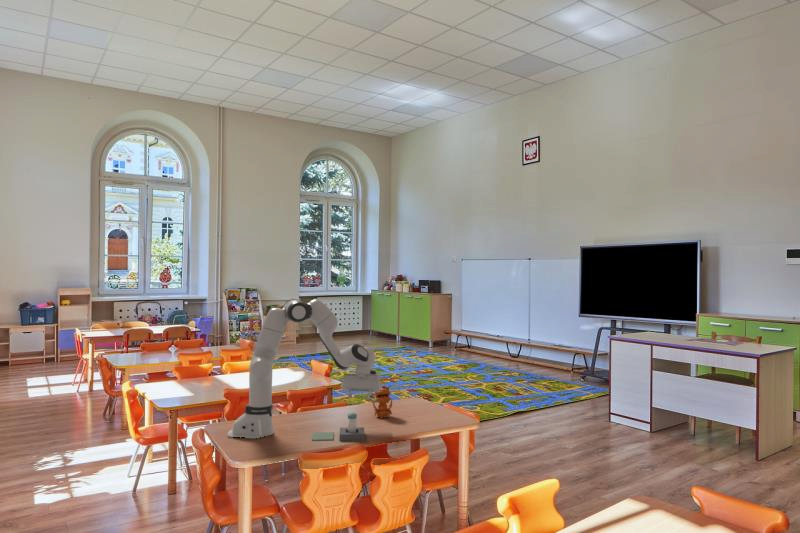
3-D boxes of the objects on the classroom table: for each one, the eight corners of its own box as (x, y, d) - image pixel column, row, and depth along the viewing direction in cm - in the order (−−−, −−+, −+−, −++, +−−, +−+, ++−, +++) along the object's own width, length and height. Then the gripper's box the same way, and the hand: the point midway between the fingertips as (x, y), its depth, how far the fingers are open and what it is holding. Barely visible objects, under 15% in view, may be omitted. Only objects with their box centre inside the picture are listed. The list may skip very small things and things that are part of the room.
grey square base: (339, 442, 260) (339, 434, 260) (339, 435, 272) (339, 427, 272) (364, 442, 261) (364, 434, 261) (363, 435, 273) (363, 427, 273)
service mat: (311, 442, 260) (312, 439, 260) (313, 435, 272) (313, 432, 272) (333, 442, 261) (333, 439, 261) (333, 435, 273) (333, 432, 273)
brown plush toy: (375, 419, 304) (375, 387, 304) (371, 415, 314) (371, 383, 314) (394, 418, 307) (395, 386, 307) (389, 414, 317) (390, 383, 317)
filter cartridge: (347, 438, 264) (347, 415, 265) (347, 435, 269) (347, 413, 269) (356, 438, 265) (356, 415, 265) (356, 435, 269) (356, 413, 269)
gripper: (343, 370, 289) (337, 393, 279) (380, 372, 285) (376, 394, 276) (345, 377, 293) (339, 399, 283) (382, 379, 290) (378, 401, 280)
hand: (358, 397), depth 279 cm, fingers open, 8 cm apart
